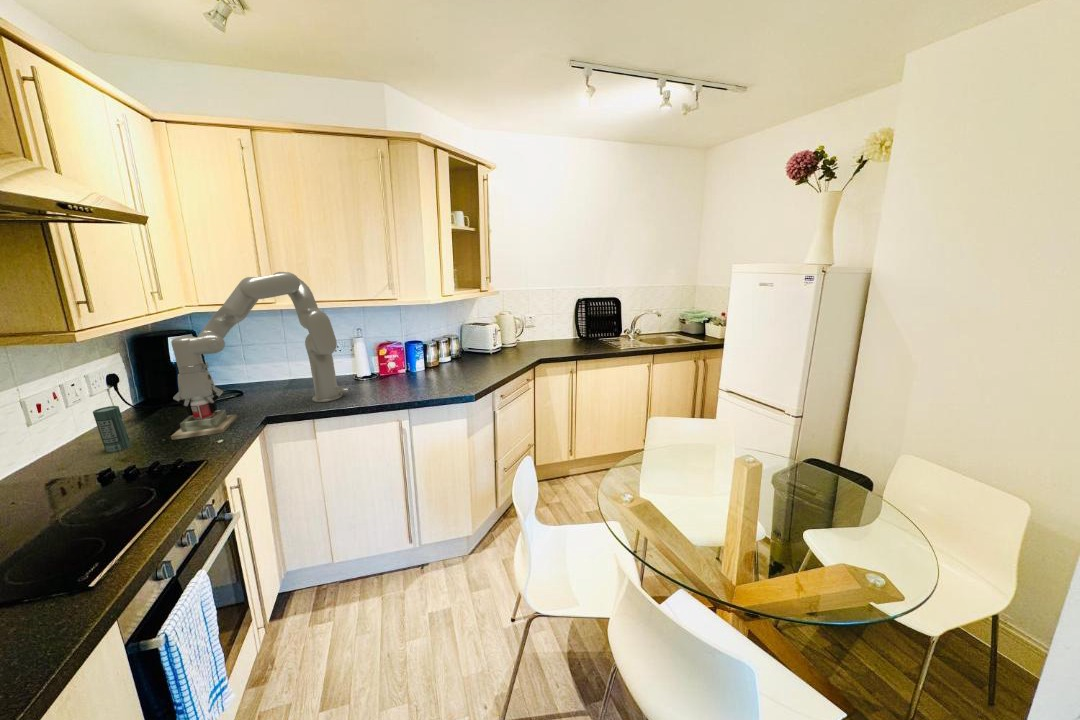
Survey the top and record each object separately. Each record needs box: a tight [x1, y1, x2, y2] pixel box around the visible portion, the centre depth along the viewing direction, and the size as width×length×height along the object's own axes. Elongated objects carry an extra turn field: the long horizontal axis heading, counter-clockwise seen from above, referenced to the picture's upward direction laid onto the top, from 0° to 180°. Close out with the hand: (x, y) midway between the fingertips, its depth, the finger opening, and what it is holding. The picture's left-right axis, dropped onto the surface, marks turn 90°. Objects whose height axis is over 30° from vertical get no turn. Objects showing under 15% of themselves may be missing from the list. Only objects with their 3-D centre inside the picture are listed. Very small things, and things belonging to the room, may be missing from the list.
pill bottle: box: [190, 396, 214, 420], centre depth 159 cm, size 6×6×11 cm
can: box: [92, 405, 132, 454], centre depth 143 cm, size 6×6×15 cm
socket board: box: [170, 408, 238, 441], centre depth 160 cm, size 16×16×5 cm
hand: (203, 412), depth 159 cm, fingers closed on pill bottle, 6 cm apart
